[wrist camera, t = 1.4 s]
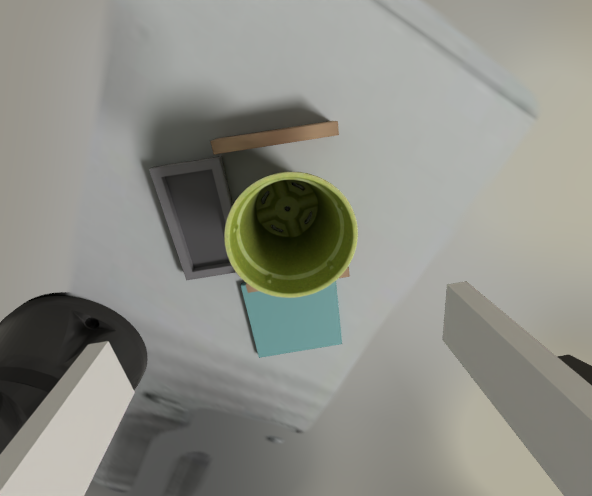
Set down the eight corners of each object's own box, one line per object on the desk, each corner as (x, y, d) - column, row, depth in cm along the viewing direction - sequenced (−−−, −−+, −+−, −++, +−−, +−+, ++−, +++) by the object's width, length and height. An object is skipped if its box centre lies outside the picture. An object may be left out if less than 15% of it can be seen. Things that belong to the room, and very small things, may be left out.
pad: (259, 353, 36) (258, 357, 35) (241, 283, 32) (240, 286, 31) (340, 340, 36) (342, 343, 35) (333, 268, 32) (334, 270, 31)
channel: (249, 277, 31) (247, 292, 29) (216, 138, 26) (210, 141, 23) (342, 262, 32) (349, 276, 29) (330, 120, 26) (337, 121, 23)
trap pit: (189, 274, 31) (186, 280, 30) (153, 166, 26) (148, 168, 25) (246, 265, 31) (245, 270, 30) (221, 156, 26) (218, 158, 25)
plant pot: (223, 231, 29) (205, 273, 21) (259, 138, 26) (254, 147, 18) (308, 263, 31) (321, 313, 23) (351, 181, 28) (382, 207, 20)
